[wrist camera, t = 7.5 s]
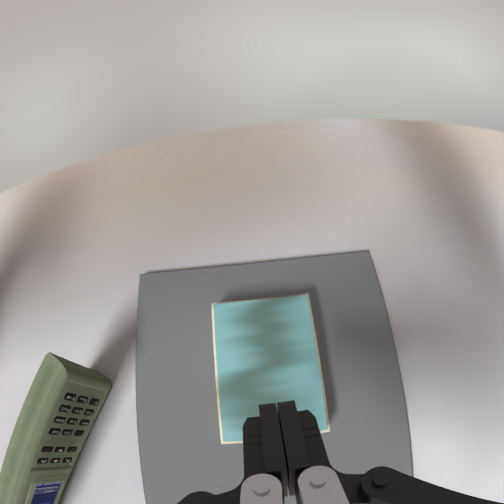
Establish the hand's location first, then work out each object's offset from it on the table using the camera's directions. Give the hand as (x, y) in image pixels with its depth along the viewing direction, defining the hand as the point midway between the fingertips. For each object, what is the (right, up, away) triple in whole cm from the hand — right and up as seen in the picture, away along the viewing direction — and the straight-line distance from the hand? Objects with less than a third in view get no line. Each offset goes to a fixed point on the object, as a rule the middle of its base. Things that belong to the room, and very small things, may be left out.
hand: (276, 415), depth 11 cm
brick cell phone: (-18, -13, +4) cm, 23 cm away
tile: (+1, -5, +5) cm, 7 cm away
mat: (0, -4, +8) cm, 9 cm away
